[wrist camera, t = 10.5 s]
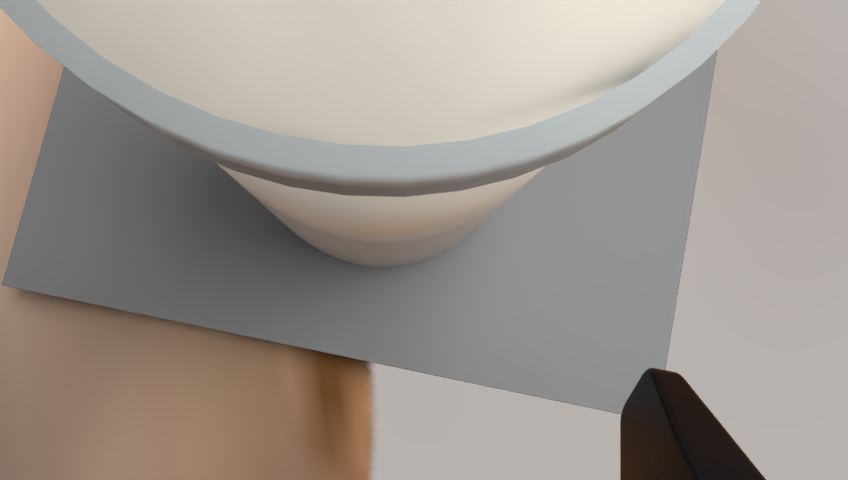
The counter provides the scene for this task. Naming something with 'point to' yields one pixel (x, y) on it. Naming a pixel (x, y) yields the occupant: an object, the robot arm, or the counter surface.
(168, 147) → the holder
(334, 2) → the white mug
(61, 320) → the counter surface
